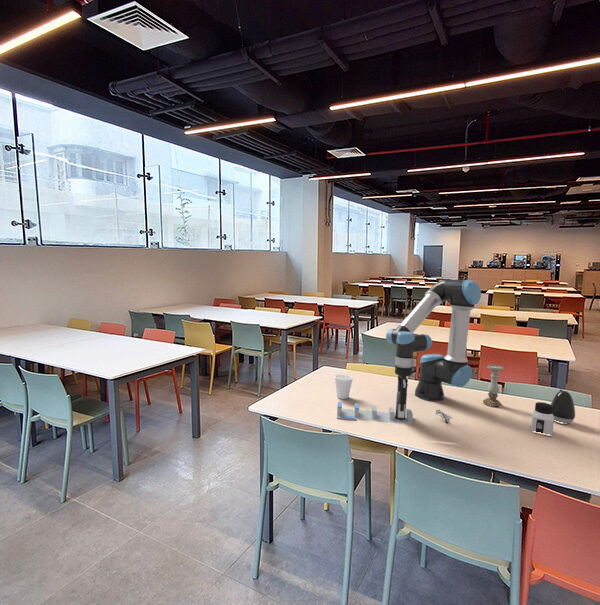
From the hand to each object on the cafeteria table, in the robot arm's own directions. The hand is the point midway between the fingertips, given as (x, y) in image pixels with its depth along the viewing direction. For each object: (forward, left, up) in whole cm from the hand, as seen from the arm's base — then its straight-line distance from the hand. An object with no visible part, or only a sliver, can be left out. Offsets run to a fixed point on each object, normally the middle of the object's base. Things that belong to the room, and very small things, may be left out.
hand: (400, 414), depth 176 cm
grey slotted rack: (+12, 0, -2) cm, 12 cm away
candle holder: (-51, -31, -2) cm, 60 cm away
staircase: (-20, -1, -3) cm, 20 cm away
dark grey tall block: (0, 0, -2) cm, 2 cm away
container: (-61, 0, -2) cm, 61 cm away
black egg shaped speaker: (-76, -14, -2) cm, 77 cm away
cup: (+27, -23, -2) cm, 36 cm away
